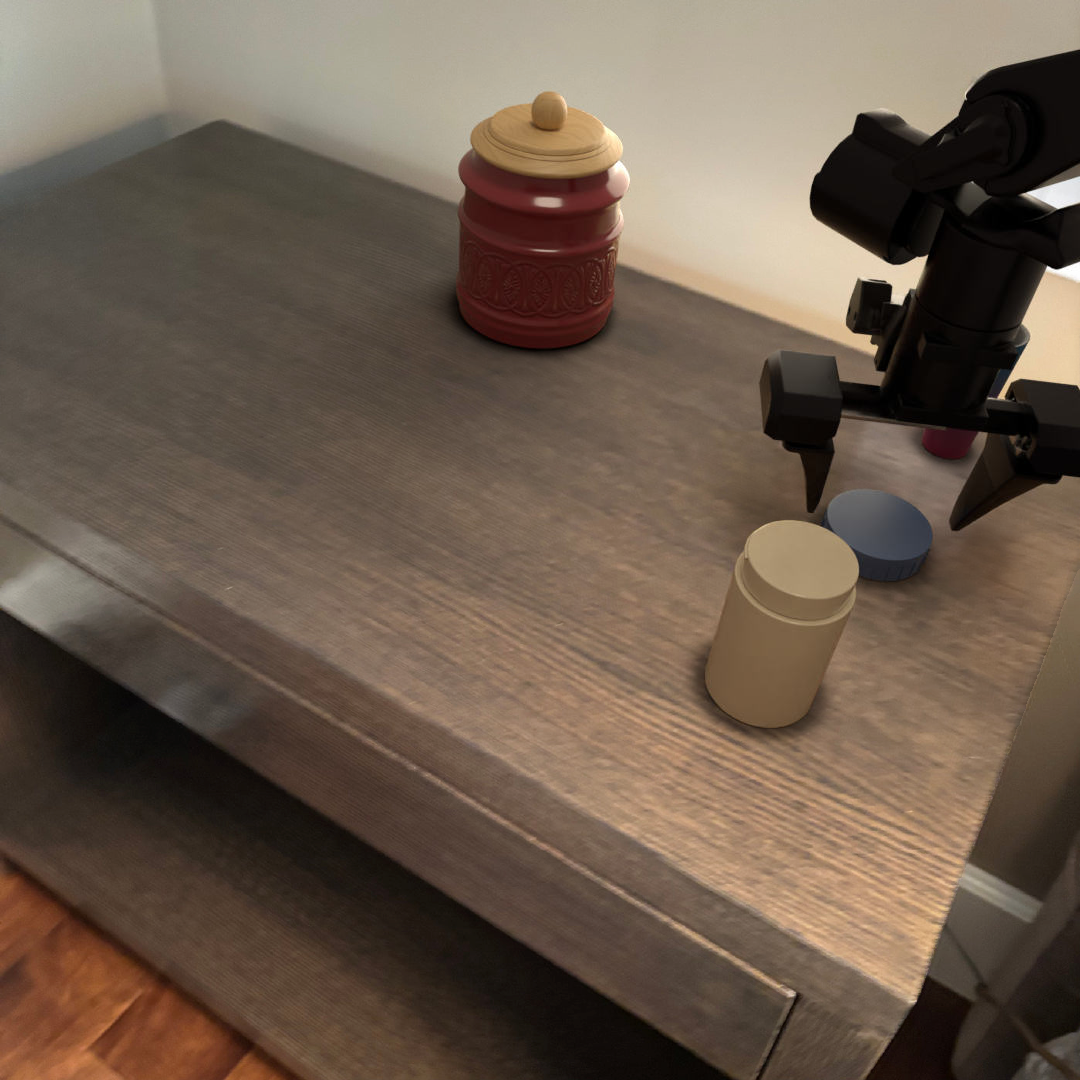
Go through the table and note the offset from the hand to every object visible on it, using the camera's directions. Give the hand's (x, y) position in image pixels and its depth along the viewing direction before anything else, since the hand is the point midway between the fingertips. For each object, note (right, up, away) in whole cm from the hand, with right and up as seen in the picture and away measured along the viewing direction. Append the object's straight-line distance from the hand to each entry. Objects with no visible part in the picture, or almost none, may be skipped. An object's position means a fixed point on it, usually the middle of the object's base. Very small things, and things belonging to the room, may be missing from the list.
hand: (880, 517), depth 66 cm
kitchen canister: (-22, +18, +20) cm, 35 cm away
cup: (+8, +5, +10) cm, 14 cm away
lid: (0, -1, +1) cm, 1 cm away
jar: (-9, -10, -8) cm, 15 cm away
